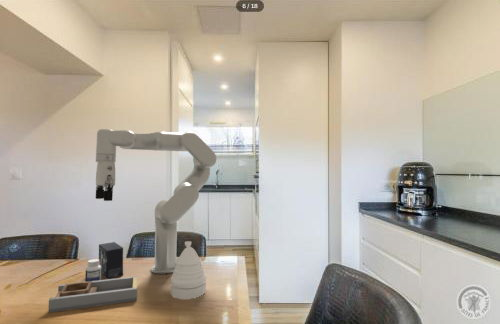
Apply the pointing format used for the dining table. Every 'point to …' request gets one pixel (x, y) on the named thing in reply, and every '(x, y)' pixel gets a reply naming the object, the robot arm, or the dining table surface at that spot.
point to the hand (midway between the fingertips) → (103, 199)
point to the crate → (77, 289)
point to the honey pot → (188, 275)
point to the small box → (111, 260)
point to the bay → (98, 295)
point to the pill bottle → (93, 271)
